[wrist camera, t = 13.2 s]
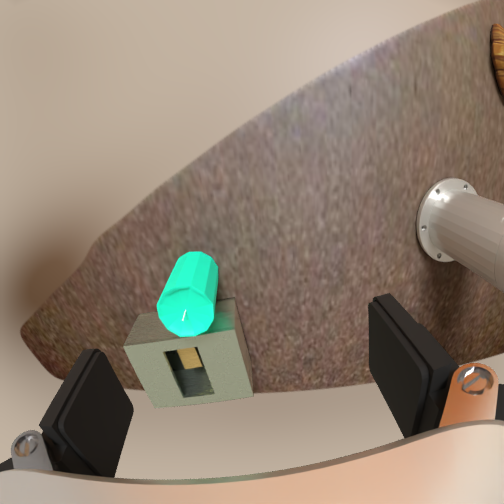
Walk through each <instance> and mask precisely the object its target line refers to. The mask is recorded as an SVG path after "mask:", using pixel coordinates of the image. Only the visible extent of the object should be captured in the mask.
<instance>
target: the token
mask: <svg viewBox="0 0 504 504" xmlns="http://www.w3.org/2000/svg"><path fill="white" fill-rule="evenodd" d="M177 352H178V354H179V356H180V359H181V361H182V363H183V365H184V368H185V369H190V368H196V367H202V365H203V361H202V358H201V356H200V353H199V350H198V347H192V348H185V349H178V350H177Z"/></svg>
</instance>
